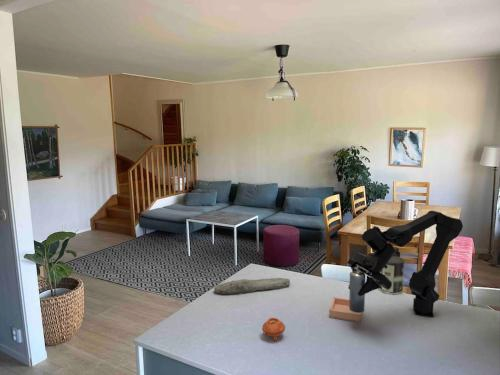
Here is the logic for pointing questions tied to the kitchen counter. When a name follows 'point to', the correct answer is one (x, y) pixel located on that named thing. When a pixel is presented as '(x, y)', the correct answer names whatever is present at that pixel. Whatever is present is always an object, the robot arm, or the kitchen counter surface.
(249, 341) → the kitchen counter surface
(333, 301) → the terracotta bin
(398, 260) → the coffee can
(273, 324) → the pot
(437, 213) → the robot arm
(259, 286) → the elongated rock
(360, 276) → the dark grey cylinder
